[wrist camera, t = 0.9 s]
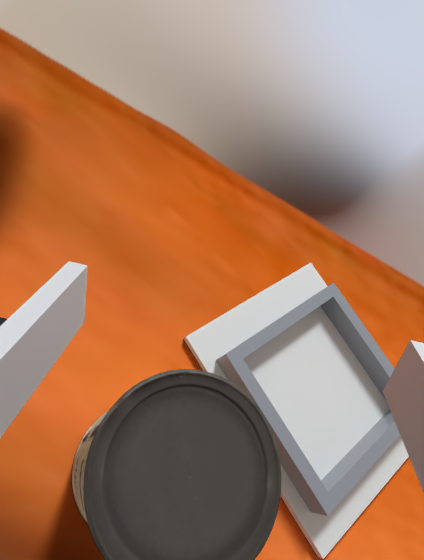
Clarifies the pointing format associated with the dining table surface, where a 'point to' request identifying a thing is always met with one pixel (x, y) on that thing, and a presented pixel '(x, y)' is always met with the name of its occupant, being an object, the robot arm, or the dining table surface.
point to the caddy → (311, 397)
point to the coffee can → (179, 472)
